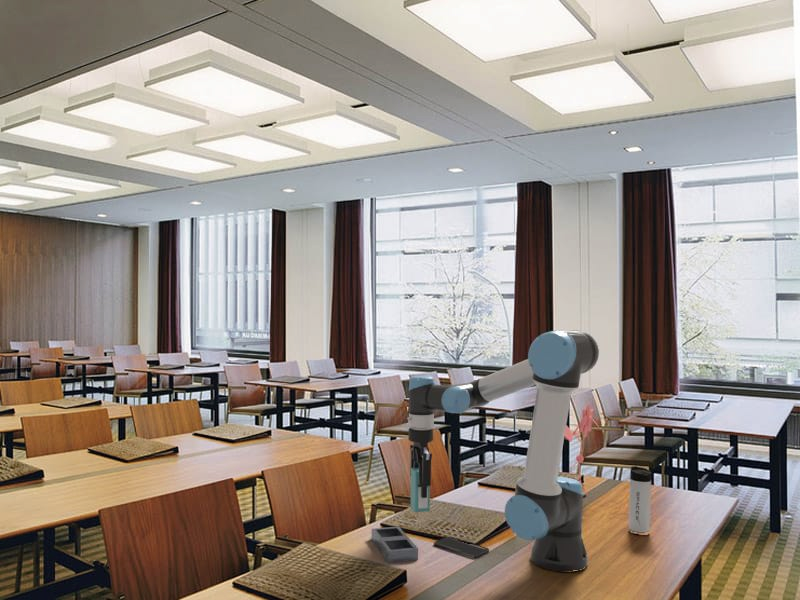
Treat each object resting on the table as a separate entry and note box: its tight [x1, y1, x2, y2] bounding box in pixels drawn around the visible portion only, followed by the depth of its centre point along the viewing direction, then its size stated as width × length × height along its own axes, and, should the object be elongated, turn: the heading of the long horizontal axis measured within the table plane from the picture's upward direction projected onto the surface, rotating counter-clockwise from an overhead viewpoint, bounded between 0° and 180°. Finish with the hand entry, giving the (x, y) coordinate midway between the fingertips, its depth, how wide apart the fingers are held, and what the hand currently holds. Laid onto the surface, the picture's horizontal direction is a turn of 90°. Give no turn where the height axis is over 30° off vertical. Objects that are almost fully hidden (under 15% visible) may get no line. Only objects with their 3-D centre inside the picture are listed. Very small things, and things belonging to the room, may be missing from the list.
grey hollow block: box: [371, 526, 419, 563], centre depth 190 cm, size 18×8×3 cm, turn 17°
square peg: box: [410, 467, 431, 513], centre depth 200 cm, size 4×4×12 cm
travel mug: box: [628, 465, 652, 533], centre depth 209 cm, size 6×7×20 cm
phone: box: [433, 536, 490, 560], centre depth 191 cm, size 8×1×15 cm
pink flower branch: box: [564, 403, 609, 507], centre depth 241 cm, size 15×26×35 cm, turn 145°
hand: (420, 505), depth 200 cm, fingers closed on square peg, 4 cm apart
